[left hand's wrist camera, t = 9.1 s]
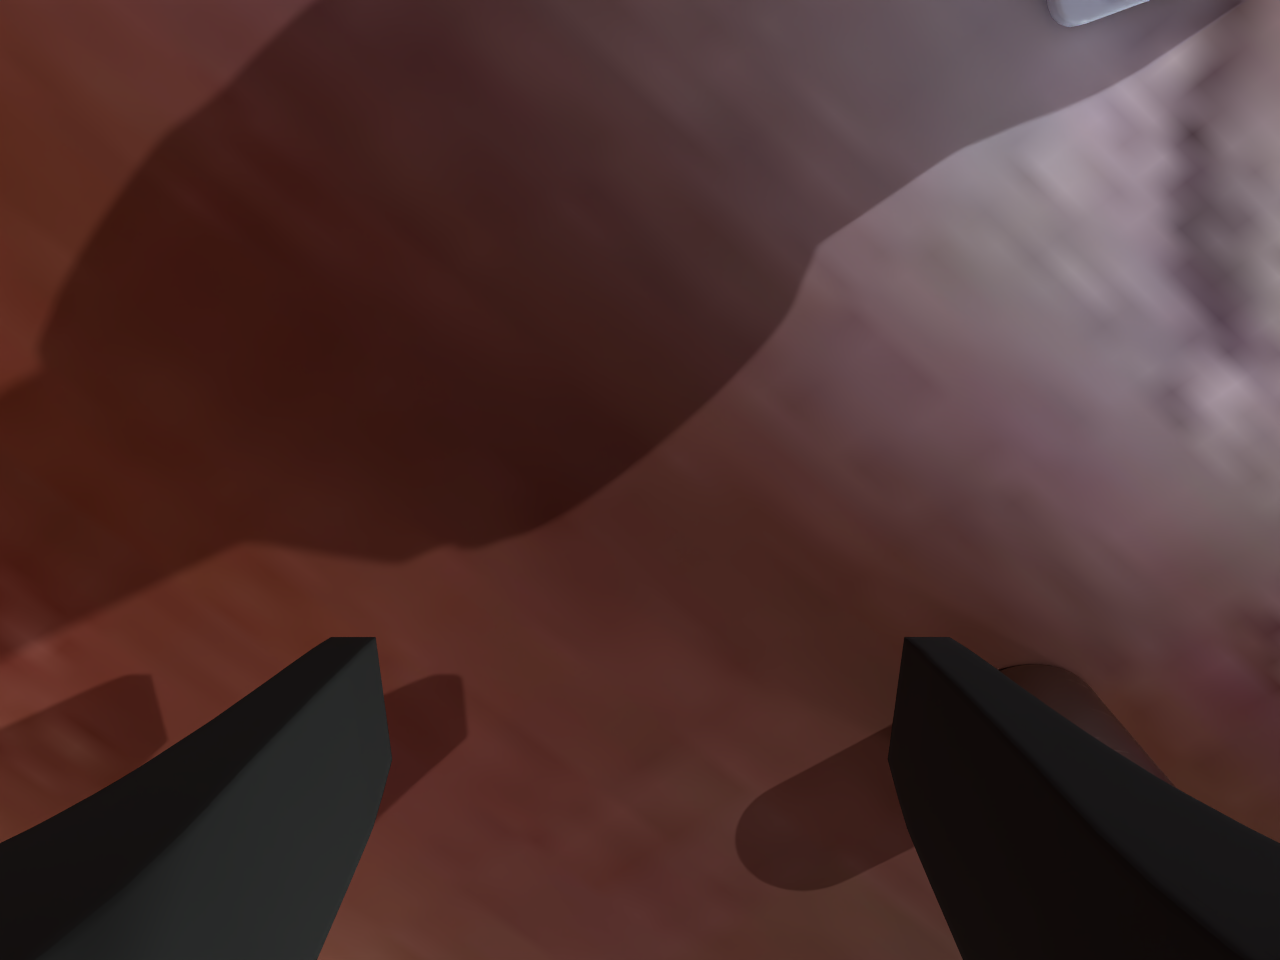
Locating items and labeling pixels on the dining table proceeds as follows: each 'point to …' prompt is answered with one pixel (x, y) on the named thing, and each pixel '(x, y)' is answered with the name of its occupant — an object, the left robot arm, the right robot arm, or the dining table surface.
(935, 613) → the dining table surface
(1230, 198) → the dining table surface
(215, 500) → the dining table surface
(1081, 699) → the can
